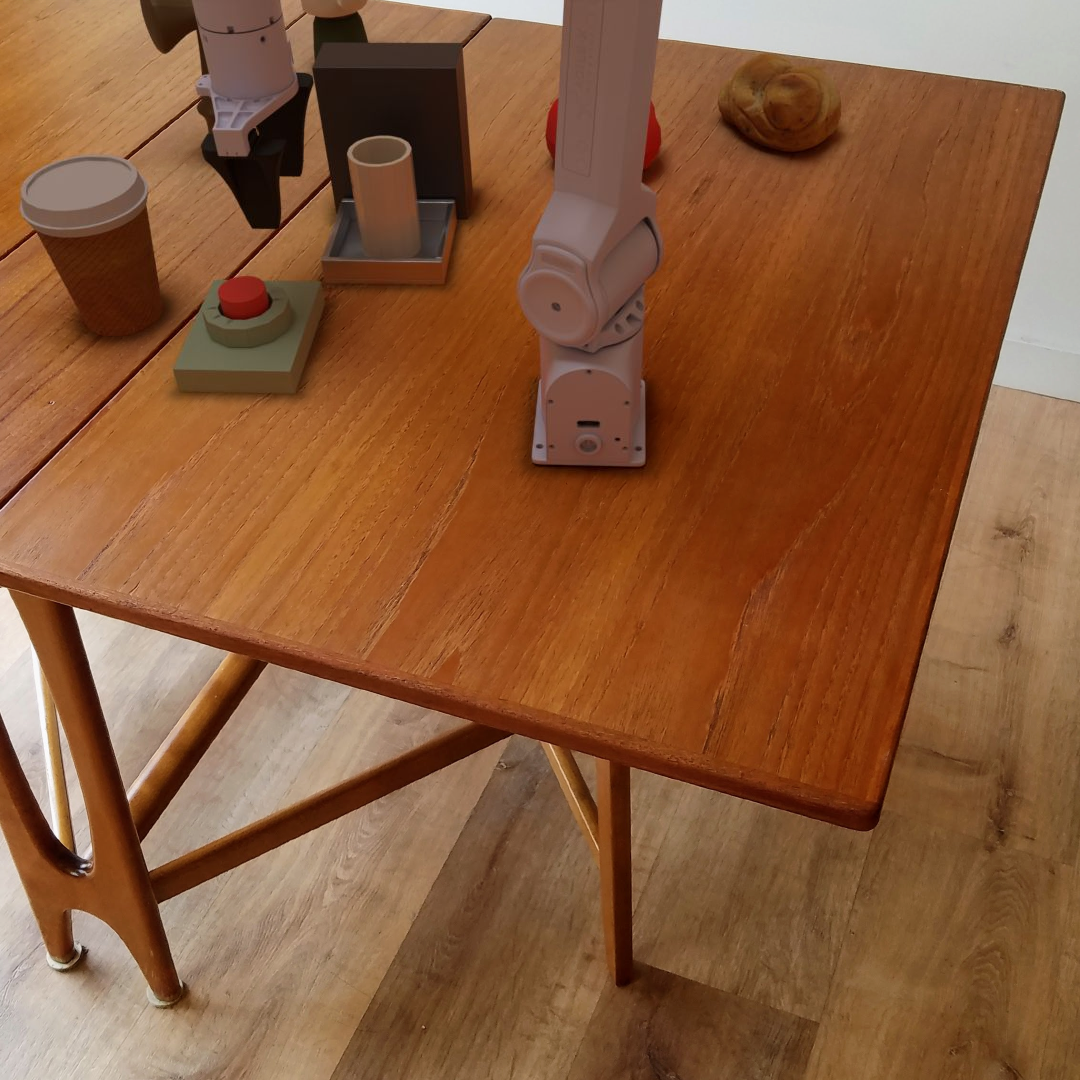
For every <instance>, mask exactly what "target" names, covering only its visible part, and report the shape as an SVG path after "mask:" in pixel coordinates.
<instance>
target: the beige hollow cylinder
mask: <svg viewBox="0 0 1080 1080" xmlns="http://www.w3.org/2000/svg"><path fill="white" fill-rule="evenodd" d="M347 157H348V164H349V170H350V177H351V183H352V190H353V196H354V203H355V209H356V216H357V222H358V229H359V235H360V242H361V246H362V251H363V253H364V255H365V256H366V257H371V258H412V257H413V256H415V255H416V254H417V253H418V252H419V251H420V249H421V246H422V243H421V239H422V238H421V229H420V220H419V211H418V202H417V193H416V184H415V175H414V166H413V157H412V148H411V146H410V145H409V143H408V142H407V141H405V140H403V139H401V138H398V137H393V136H374V137H369V138H365V139H362V140H360V141H357V142H355V143H354V144H353V145H352V146H351V147H349V150H348V152H347Z"/></svg>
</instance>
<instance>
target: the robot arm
mask: <svg viewBox="0 0 1080 1080" xmlns="http://www.w3.org/2000/svg"><path fill="white" fill-rule="evenodd" d="M663 1H664V0H563V9H562V11H563V12H562V24H561V25H562V27H561V44H560V45H561V46H560V63H559V81H558V97H559V98H558V97H557V98H558V116H557V134H556V152H555V160H554V173H553V188H552V189H553V190H552V192H551V195H550V197H549V200H548V202H547V205H546V206H545V208H544V211H543V213H542V215H541V217H540V220H539V222H538V224H537V226H536V228H535V230H534V232H533V235H532V238H531V250H530V257H529V261H528V262H527V264H526V265H525V267H524V268H523V269H522V271H521V272H520V274H519V277H518V280H517V284H516V294H517V301H518V303H519V304H518V305H519V307H520V310H521V311H522V313H523V315H524V317H525V318H526V320H527V322H528V323H529V324H530V325H531V327H533V329H534V330H535V331H536V335H538V337H539V360H540V361H539V368H540V379H539V380H538V387H537V388H538V389H537V399H536V409H535V418H534V428H533V439H532V448H531V462H532V463H533V464H535V465H553V466H555V465H556V466H557V465H559V466H560V465H561V466H596V467H598V466H599V467H602V466H603V467H642V466H645V464H646V382H645V380H644V379H642V374H643V354H644V335H645V334H644V333H645V316H646V315H645V314H646V312H645V311H646V304H645V296H646V281H648V280H649V279H650V278H652V276H654V275H655V274H656V272H657V271H658V270H659V269H660V267H661V265H662V262H663V259H664V252H665V250H664V249H665V245H664V244H665V243H664V239H663V236H662V233H661V230H660V227H659V223H658V219H657V207H658V206H657V205H658V194H657V193H656V192H655V191H653V190H652V189H651V188H650V187H649V186H648V185H646V184H645V183H644V182H642V181H643V180H642V179H643V172H644V171H643V170H644V169H643V164H644V155H645V147H646V138H647V130H648V121H649V113H650V104H651V101H652V94H653V85H654V80H655V79H654V78H655V69H656V61H657V54H658V44H659V37H660V36H659V35H660V26H661V19H662V10H663V3H664V2H663ZM192 3H193V7H194V12H195V16H196V20H197V24H198V28H199V33H200V37H201V41H202V45H203V49H204V54H205V58H206V62H207V67H208V71H209V74H207V75H203V76H202V75H201V76H200V77H199V78H198V79H197V81H196V83H195V84H194V85H195V86H194V87H195V91H196V94H197V95H198V96H200V97H202V96H210V97H211V98H212V103H213V108H214V113H215V125H214V127H213V129H212V131H213V134H208V133H207V134H205V137H204V139H202V140H203V141H202V142H201V144H200V148H201V153H202V157H203V160H204V161H205V162H206V163H207V164H209V166H211V168H213V170H214V171H216V173H217V174H218V175H219V176H220V177H221V178H222V180H223V181H224V182H225V184H226V185H227V186H228V188H229V190H230V191H231V193H232V195H233V197H234V199H235V200H236V202H237V203H238V206H239V208H240V209H241V211H242V213H243V216H244V217H245V220H246V221H247V223H248V224H249V226H250V229H252V230H278V229H279V228H280V226H281V221H282V199H281V198H282V197H281V183H280V182H281V181H280V180H281V179H280V178H281V177H284V178H285V177H286V178H287V177H288V178H301V176H302V174H303V170H304V161H305V160H304V159H305V158H304V157H305V156H304V155H305V128H306V127H305V126H306V116H307V110H308V104H309V100H310V96H311V93H312V90H313V87H314V85H315V83H314V77H313V74H311V73H308V72H300V71H299V72H297V71H296V68H295V66H294V64H295V61H294V55H293V50H292V44H291V38H289V37H288V35H287V30H286V24H285V19H284V14H283V13H284V11H283V9H282V3H281V0H192Z"/></svg>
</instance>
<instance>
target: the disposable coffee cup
mask: <svg viewBox="0 0 1080 1080" xmlns="http://www.w3.org/2000/svg"><path fill="white" fill-rule="evenodd" d="M137 169H138V168H136V166H135V165H134V163H132V162H131V161H130V160H128V159H126V158H124V157H120V156H117V155H113V154H104V153H91V154H90V153H89V154H80V155H75V156H70V157H67V158H62V159H59V160H55V161H52V162H50V163H48V164H46V165H44V166H42V167H40V168H38V169H36V170H35V171H33V173H31V174H30V175H29V176H28V177H27V178H26V179H25V180H24V181H23V182H22V184H21V187H20V199H21V200H20V202H19V212H20V214H21V217H22V219H24V221H25V222H27V224H29V226H30V227H31V228H32V229H33V230H34V231H35V232H36V234H37V236H38V238H39V240H40V242H41V243H42V246H43V247H44V249H45V251H46V253H47V254H48V256H49V258H50V260H51V262H52V264H53V266H54V268H55V269H56V271H57V273H58V275H59V277H60V279H61V281H62V283H63V284H64V286H65V288H66V290H67V292H68V294H69V295H70V297H71V299H72V301H73V303H74V305H75V307H76V308H77V311H78V312H79V314H80V316H81V318H82V320H83V321H84V324H85V325H86V328H87V329H88V330H90V331H91V332H93V333H94V334H97V335H100V336H104V337H122V336H128V335H131V334H135V333H138V332H141V331H142V330H145V329H147V328H148V327H149V328H150V326H152V325H153V324H155V323H156V322H157V321H158V319H159V318H160V317H161V315H162V314H163V310H164V309H163V302H162V301H163V300H162V294H161V289H160V288H161V287H160V281H159V276H158V270H157V269H158V268H157V263H156V257H155V251H154V244H153V238H152V231H151V224H150V219H149V218H150V217H149V212H148V207H147V203H148V198H149V197H148V196H149V185H148V182H147V180H146V178H145V177H144V176H143V175H142V174H140V173H139V171H138V170H137Z"/></svg>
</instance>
